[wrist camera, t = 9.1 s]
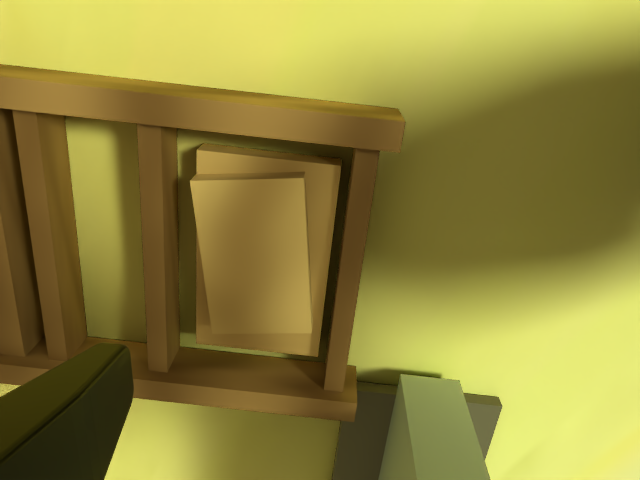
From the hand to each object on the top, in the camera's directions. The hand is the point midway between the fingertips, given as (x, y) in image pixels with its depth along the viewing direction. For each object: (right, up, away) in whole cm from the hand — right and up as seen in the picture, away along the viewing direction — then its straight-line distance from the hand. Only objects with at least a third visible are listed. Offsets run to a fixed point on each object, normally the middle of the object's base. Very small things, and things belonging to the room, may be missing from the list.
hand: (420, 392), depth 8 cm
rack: (-7, +2, +13) cm, 15 cm away
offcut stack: (-4, +2, +13) cm, 14 cm away
